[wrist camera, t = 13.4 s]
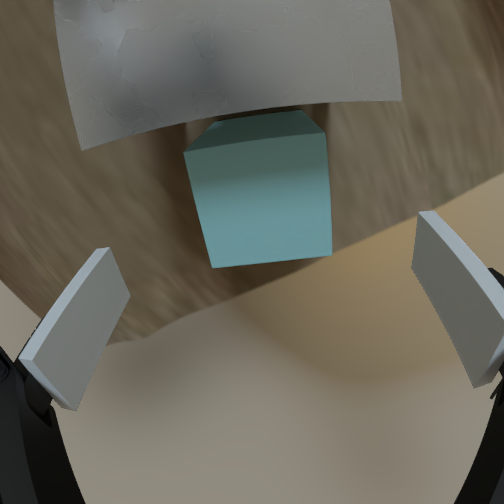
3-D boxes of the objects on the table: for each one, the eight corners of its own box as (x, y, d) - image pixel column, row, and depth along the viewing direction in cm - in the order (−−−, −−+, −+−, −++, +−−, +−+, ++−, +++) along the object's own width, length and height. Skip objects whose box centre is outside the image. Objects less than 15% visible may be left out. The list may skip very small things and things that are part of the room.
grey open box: (329, 86, 18) (402, 100, 8) (171, 109, 20) (81, 150, 9) (307, -40, 13) (345, -130, 3) (149, -13, 14) (51, -65, 4)
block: (230, 199, 23) (212, 268, 16) (214, 121, 20) (183, 152, 13) (309, 189, 23) (332, 255, 15) (301, 109, 19) (325, 132, 12)
